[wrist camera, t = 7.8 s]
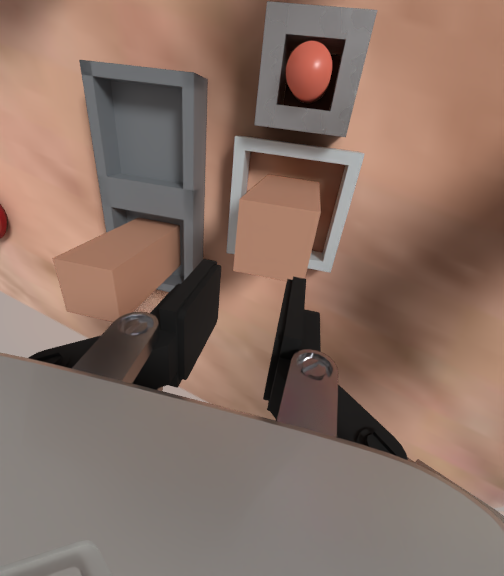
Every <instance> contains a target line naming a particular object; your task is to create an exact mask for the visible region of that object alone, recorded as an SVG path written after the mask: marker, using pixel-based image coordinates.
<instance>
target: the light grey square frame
mask: <svg viewBox="0 0 504 576" xmlns="http://www.w3.org/2000/svg"><path fill="white" fill-rule="evenodd" d="M251 151H253V152H260V153H267V154H274V155H281V156H288V157H295V158H302V159H309V160H316V161H323V162H330V163H337V164H344V165H345V169H344V173H343V176H342V180H341V184H340V188H339V192H338V195H337V199H336V203H335V207H334V211H333V215H332V218H331V222H330V226H329V230H328V234H327V238H326V241H325V245H324V249H323V253H322V252H316V251H311V255H310V260H309V264H308V268H309V269H314V270H320V271H325V272H331V269H332V266H333V262H334V259H335V255H336V252H337V248H338V245H339V241H340V238H341V234H342V231H343V227H344V224H345V220H346V217H347V213H348V210H349V207H350V203H351V200H352V196H353V193H354V189H355V186H356V182H357V179H358V175H359V172H360V168H361V165H362V161H363V158H364V153H362V152H356V151H349V150H342V149H335V148H327V147H320V146H313V145H305V144H298V143H291V142H284V141H276V140H269V139H262V138H254V137H247V136H235V143H234V157H233V171H232V184H231V198H230V212H229V226H228V239H227V253H230V254H235V244H236V233H237V222H238V210H239V199H240V198H241V197H242V196H244V195H245V194H246V192H247V182H248V172H249V162H250V152H251Z"/></svg>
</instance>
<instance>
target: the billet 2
mask: <svg viewBox="0 0 504 576" xmlns="http://www.w3.org/2000/svg"><path fill="white" fill-rule="evenodd" d="M320 214H321V207H320V188H319V182H316V181H309V180H303V179H296V178H290V177H283V176H277V175H270V174H268V175H267V176H266V177H265V178H263V179H262V180H261V181H260V182H259V183H258V184H256V185H255V186H254V187H253V188H252V189H251V190H249V191H248V192H247V193H246V194H245V195H244V196H242V197H241V198H240V199H239V210H238V222H237V233H236V244H235V255H234V267H233V271H236V272H241V273H246V274H251V275H256V276H261V277H266V278H271V279H276V280H282V281H287V279H291V280H292V279H293V276H294V277H299V278H304V279H305V276H306V272H307V268H308V264H309V260H310V255H311V251H312V247H313V243H314V239H315V235H316V230H317V226H318V222H319V218H320Z"/></svg>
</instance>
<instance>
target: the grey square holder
mask: <svg viewBox="0 0 504 576" xmlns="http://www.w3.org/2000/svg"><path fill="white" fill-rule="evenodd" d="M376 13H377V10H370V9H357V8H345V7H332V6H319V5H306V4H294V3H281V2H268V1H267V7H266V17H265V27H264V37H263V46H262V56H261V66H260V76H259V86H258V95H257V105H256V115H255V125H257V126H265V127H272V128H280V129H288V130H295V131H303V132H310V133H318V134H325V135H333V136H341V137H346V133H347V129H348V125H349V121H350V117H351V113H352V109H353V105H354V101H355V97H356V93H357V89H358V85H359V81H360V77H361V73H362V69H363V65H364V61H365V57H366V53H367V49H368V45H369V41H370V37H371V33H372V29H373V25H374V21H375V17H376ZM307 41H317V42H320V43H321V44H323V45H324V46H325V47H326V48H327V49H328V51H329V53H330V55H340V56H341V58H340V62H339V67H338V72H337V76H336V81H335V86H334V90H333V95H332V100H331V104H330V109H329V111H325V110H317V109H309V108H301V107H293V106H284V105H283V104H284V97H285V90H286V83H287V80H286V66H287V62H288V59H289V57H290V55H291V51H294V50H295V48H297V47H298V46H299V45H300V44H302V43H304V42H307Z"/></svg>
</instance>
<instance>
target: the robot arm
mask: <svg viewBox="0 0 504 576" xmlns="http://www.w3.org/2000/svg"><path fill="white" fill-rule="evenodd" d="M220 278H221V266H220V265H217V261H212V260H207V259H203V260H202V261H201V262H200V263H199V264H198V266H197V267H196V268H195V269H194V270H193V271H192V272H191V273H190V275H189V276H188V277H187V278H186V279H185V280H184V281H183V282H182V283H181V284H177V285H176V286H175V287H174V288H173V289H172V290H171V291H170V292H169V293H168V294H167V295H166V297H165V298H164V299H163V300H162V301H161V302H160V303H159V304H158V305H157V306H156V307H155V308H154V310H153V311H152V312H151V313H147V312H132V313H128V314H125V315H123V316H121V317H119V318H118V319H116V320H115V321H114V322H113V323H112V324H111V326H110V327H109V328H108V329H107V330H106V331H105V332H104V333H103V334H102V335H101V336H98V337H94V338H90V339H86V340H82V341H78V342H75V343H71V344H67V345H63V346H59V347H55V348H52V349H48V350H44V351H41V352H38V353H36V354H34V355H32V356H31V357H29V358H24V357H19V356H14V355H9V354H4V353H0V576H504V516H503V515H502V514H500V513H499V512H498V511H496V510H495V509H493V508H492V507H490V506H489V505H487V504H486V503H484V502H483V501H481V500H480V499H478V498H477V497H475V496H473V495H472V494H470V493H469V492H467V491H466V490H464V489H463V488H461V487H460V486H458V485H457V484H455V483H454V482H452V481H451V480H449V479H448V478H446V477H444V476H443V475H441V474H440V473H438V472H437V471H435V470H434V469H432V468H431V467H429V466H428V465H426V464H425V463H423V462H422V461H420V460H419V459H417V461H416V462H414V461H412V460H411V459H409V458H408V457H407V455H406V452H405V451H404V449H403V447H402V445H401V444H400V443H399V442H398V441H397V440H396V438H395V437H394V436H393V435H392V434H390V433H389V432H388V431H387V430H386V429H385V428H384V427H383V426H382V425H381V424H380V423H379V422H378V421H377V420H376V419H374V418H373V417H372V416H371V415H370V414H369V413H368V412H367V411H366V410H365V409H364V408H363V407H362V406H361V405H360V404H359V403H357V402H356V401H355V400H354V399H353V398H352V397H351V396H350V395H349V394H348V393H347V392H346V391H345V390H344V389H343V388H341V387H340V386H339V385H338V368H337V366H336V364H335V362H334V361H333V360H332V359H331V358H330V357H329V356H327V355H326V354H324V353H322V352H321V351H320V313H319V312H314V311H309V310H305V309H304V304H305V289H306V279H304V278H299V277H294V276H293V279H292V280H291V279H287V284H286V289H285V293H284V298H283V303H282V308H281V313H280V318H279V323H278V327H277V332H276V337H275V342H274V347H273V352H272V357H271V362H270V367H269V372H268V377H267V382H266V388H265V393H264V398H263V399H264V400H268V401H269V403H268V408H267V410H268V411H270V412H271V413H272V414H273V416H274V417H275V418H276V421H274V420H271V419H267V418H263V417H259V416H255V415H252V414H248V413H244V412H240V411H236V410H233V409H229V408H225V407H221V406H217V405H213V404H209V403H205V402H201V401H197V400H194V399H190V398H186V397H182V396H178V395H174V394H170V393H167V392H163V391H162V390H163V386H166V385H170V386H174V387H178V386H179V384H180V382H181V381H182V379H184V380H186V379H187V378H188V376H189V374H190V373H191V371H192V369H193V367H194V365H195V363H196V361H197V359H198V357H199V355H200V353H201V352H202V350H203V348H204V346H205V344H206V342H207V340H208V338H209V336H210V334H211V332H212V331H213V329H214V327H215V325H216V322H217V319H218V308H219V293H220Z"/></svg>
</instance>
